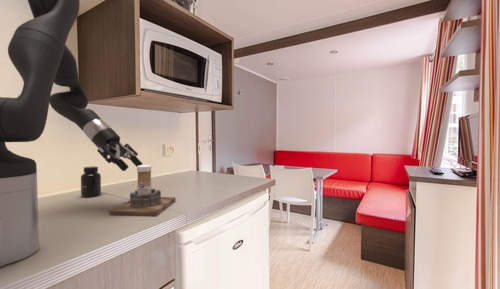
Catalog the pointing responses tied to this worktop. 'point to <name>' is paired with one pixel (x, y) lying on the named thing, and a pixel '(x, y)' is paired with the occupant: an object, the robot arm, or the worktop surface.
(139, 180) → the sprinkles bottle
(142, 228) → the worktop surface
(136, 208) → the collar base
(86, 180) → the supplement bottle
